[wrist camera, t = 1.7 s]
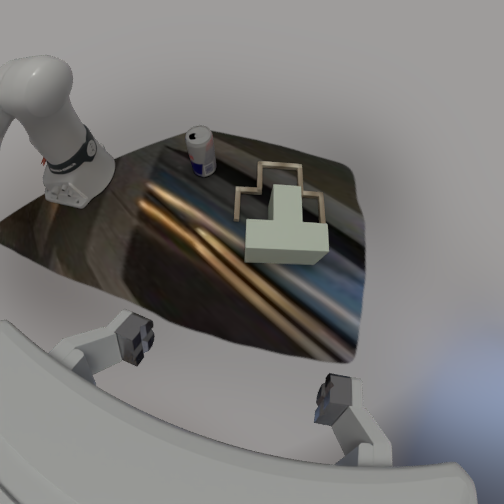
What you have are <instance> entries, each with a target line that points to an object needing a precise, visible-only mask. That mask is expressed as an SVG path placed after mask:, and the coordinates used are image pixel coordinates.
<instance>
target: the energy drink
mask: <svg viewBox="0 0 504 504" xmlns="http://www.w3.org/2000/svg"><path fill="white" fill-rule="evenodd" d="M185 140H186V145H187V149H188V152H189V156H190V160H191V164H192V167H193V171H194V173H195V174H196V175H198V176H201V177H206V176H209V175H211V174H212V173H214V171H215V170H216V159H215V151H214V143H213V135H212V132H211V131H210V129H209V128H208V127H206V126H201V125H200V126H195V127H192V128H191V129H189V130H188V131H187V133H186V138H185Z"/></svg>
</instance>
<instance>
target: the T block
mask: <svg viewBox="0 0 504 504" xmlns="http://www.w3.org/2000/svg"><path fill="white" fill-rule="evenodd" d="M328 252H329V243H328V225H327V224H323V223H308V222H302V197H301V186H289V185H275V184H274V185H273V189H272V193H271V198H270V202H269V206H268V220H255V219H247V223H246V239H245V262H255V263H279V264H306V265H314V264H315V263H317V262H318V261H319V260H320V259H321V258H322V257H323V256H324V255H326V254H327V253H328Z"/></svg>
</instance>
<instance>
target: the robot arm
mask: <svg viewBox="0 0 504 504" xmlns="http://www.w3.org/2000/svg"><path fill="white" fill-rule="evenodd" d="M72 83H73V76H72V71H71V68H70V66H69V65H68V64H67V63H66V62H65V61H63V60H61V59H58V58H56V57H53V56H49V55H40V56H32V57H26V58H20V59H14V60H11V61H9V62H7V63H6V64H4V65H3V66H1V67H0V146H1V143H2V140H3V137H4V135H5V133H6V131H7V129H8V127H9V126H10V124H11V122H12V121H13V120H14V119H15V118H16V119H17V120H19V121H20V123H21V124H22V125H23V126H24V128H25V130H26V131H27V133H28V135H29V139H30V142H31V144H32V145H33V146H34V147H35V148H36V149H37V150H38V151H39V152H40V153H41V155H42V156H43V160H42V163H43V165H44V164H45V162H46V161H47V166H46V168H45V172H44V175H43V183H44V186H45V187H46V189H45V198H46V200H47V201H50V202H54V203H58V204H63V205H67V206H72V207H76V208H84V207H85V206H86V205H87V204H88V203H89V201H90V200H91V199H92V198H93V197H95V196H96V195H98V194H99V193H101V192H102V191H103V190H104V189H105V188H106V186H107V185H108V184H109V182H110V181H111V179H112V177H113V174H114V171H115V161H114V159H113V157H112V156H111V155H110V154H109V153H108V152H107V151H106V150H105V147H104V146H103V145H102V144H99V143H98V141H97V140H96V139H95V138H94V137H93V135H92V134H91V132H90V130H89V129H88V128H87V127H86V126H85V125H84V124H82V122H81V121H80V119H79V117H78V116H77V114H76V112H75V111H74V109H73V107H72V105H71V102H70V99H69V94H70V91H71V88H72ZM42 163H41V164H42ZM78 202H79V203H78ZM152 328H153V321H152V320H150V319H148V318H145V317H143V316H141V315H138V314H136V313H134V312H131V311H129V310H127V309H124V310H122V311H121V312H120V313H119V314H118V315H117V316H116V317H115V318H114V319H113V320H112V321H111V322H110V323H109V324H108V325H107V326H106V327H105V328H104V327H101V328H98V329H94V330H91V331H88V332H84V333H81V334H77V335H74V336H70V337H67V338H64V339H62V340H61V341H60V342H59V343H58V344H57V345H56V346H55V347H54V348H53V349H52V350H51V351H50V352H49V353H46V352H45V351H44V350H42V349H41V348H40V347H39V346H38V345H36V344H35V343H34V342H32V341H31V340H30V339H29V338H28V337H26V336H25V335H24V334H23V333H22V332H21V331H20V330H18V329H17V328H16V327H15V326H14V325H13V324H12V323H10V322H9V321H7V320H1V321H0V504H478V503H477V496H476V489H475V485H474V482H473V480H472V479H471V477H470V476H469V475H468V474H467V473H466V471H465V470H464V469H463V468H462V467H461V466H460V465H459V464H457V463H456V462H446V463H439V464H431V465H420V466H407V467H392V447H391V443H390V441H389V440H388V439H387V437H386V435H385V434H384V433H383V431H382V430H381V428H380V427H379V426H378V424H377V423H376V421H375V420H374V419H373V417H372V416H371V414H370V413H369V412H368V410H367V409H366V408H363V392H362V391H363V390H362V380H361V379H358V378H352V377H347V376H342V375H336V374H331V373H329V374H328V375H327V377H326V381H325V383H323V384H322V385H321V387H320V389H319V392H318V395H317V401H316V403H317V405H318V408H317V409H316V411H315V419H314V423H318V424H323V425H329V426H331V427H332V429H333V431H334V434H335V435H336V438H337V440H338V442H339V444H340V446H341V448H342V450H343V452H344V454H345V457H343V458H342V459H341V460H340V461H338V462H337V463H336V464H335V465H330V464H321V463H313V462H306V461H299V460H294V459H288V458H282V457H278V456H273V455H268V454H264V453H259V452H255V451H251V450H247V449H244V448H240V447H236V446H233V445H229V444H226V443H223V442H219V441H216V440H213V439H210V438H207V437H204V436H201V435H199V434H196V433H193V432H190V431H187V430H185V429H183V428H180V427H178V426H175V425H173V424H170V423H168V422H165V421H163V420H161V419H159V418H156V417H154V416H152V415H150V414H148V413H145V412H143V411H141V410H139V409H137V408H135V407H133V406H131V405H129V404H127V403H125V402H123V401H121V400H120V399H118V398H116V397H114V396H112V395H110V394H108V393H107V392H105V391H103V390H102V389H100V388H98V387H97V386H96V382H95V380H94V378H93V374H96V373H98V372H100V371H102V370H104V369H106V368H108V367H110V366H112V365H115V364H117V363H119V362H121V361H122V360H124V361H126V362H128V363H131V364H133V365H135V366H138V365H139V363H140V362H141V361H142V359H143V358H144V353H145V352H147V351H149V350H150V348H151V347H152V345H153V342H154V332H153V331H152Z"/></svg>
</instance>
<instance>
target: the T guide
mask: <svg viewBox="0 0 504 504" xmlns="http://www.w3.org/2000/svg"><path fill="white" fill-rule="evenodd" d="M262 168H272V169H286V170H297V186H301V197H304V198H316V199H318V210H319V223H323V224H325V210H324V197H323V193H322V192H311V191H303V176H302V164H291V163H279V162H264V161H258V171H257V188H252V187H236V196H235V211H234V221H239V212H240V194H258V195H261V194H262Z"/></svg>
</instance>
